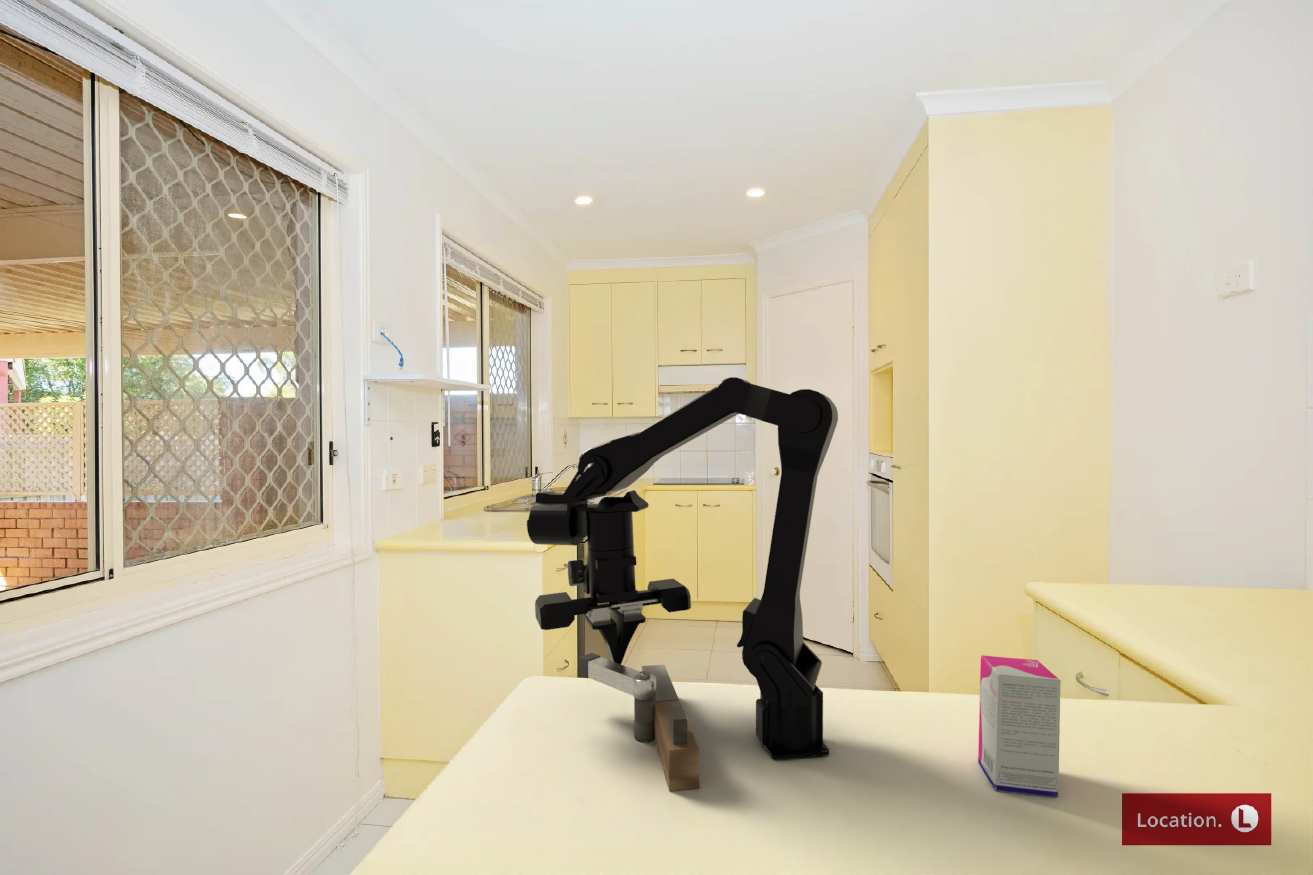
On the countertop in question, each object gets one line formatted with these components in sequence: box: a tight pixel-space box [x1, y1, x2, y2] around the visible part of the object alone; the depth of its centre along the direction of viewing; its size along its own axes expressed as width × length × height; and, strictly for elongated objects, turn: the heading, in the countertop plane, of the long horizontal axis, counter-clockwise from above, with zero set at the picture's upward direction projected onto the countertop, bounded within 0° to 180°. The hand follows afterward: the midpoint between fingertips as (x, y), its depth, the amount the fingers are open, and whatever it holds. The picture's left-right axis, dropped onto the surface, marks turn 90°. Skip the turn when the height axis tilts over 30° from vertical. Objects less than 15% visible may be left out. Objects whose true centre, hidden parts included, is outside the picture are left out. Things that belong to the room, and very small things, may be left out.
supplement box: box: [977, 654, 1061, 798], centre depth 63 cm, size 6×6×12 cm
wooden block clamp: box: [633, 664, 700, 792], centre depth 72 cm, size 5×22×6 cm, turn 8°
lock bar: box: [577, 652, 656, 700], centre depth 75 cm, size 12×3×3 cm, turn 47°
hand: (616, 670), depth 78 cm, fingers closed
